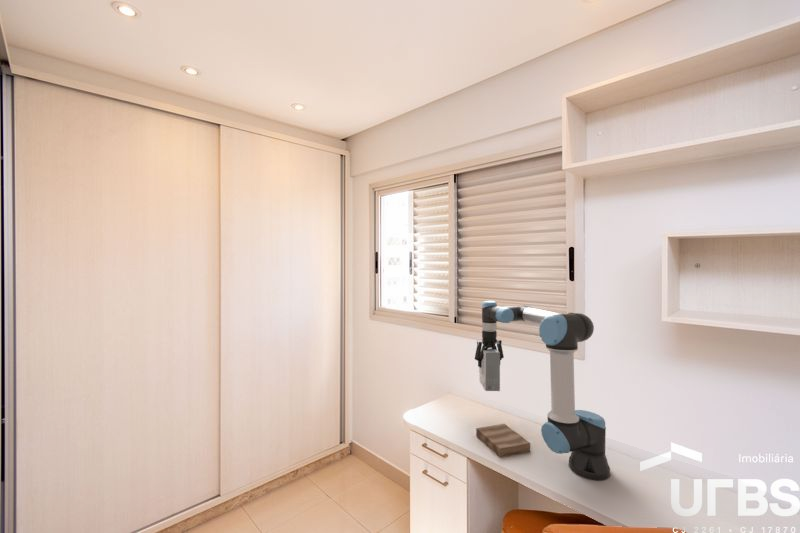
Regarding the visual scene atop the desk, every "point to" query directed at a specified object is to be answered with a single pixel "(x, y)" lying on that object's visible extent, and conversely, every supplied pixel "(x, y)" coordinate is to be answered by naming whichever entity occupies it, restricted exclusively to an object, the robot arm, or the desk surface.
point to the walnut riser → (503, 440)
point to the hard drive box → (491, 370)
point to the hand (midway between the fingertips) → (489, 372)
